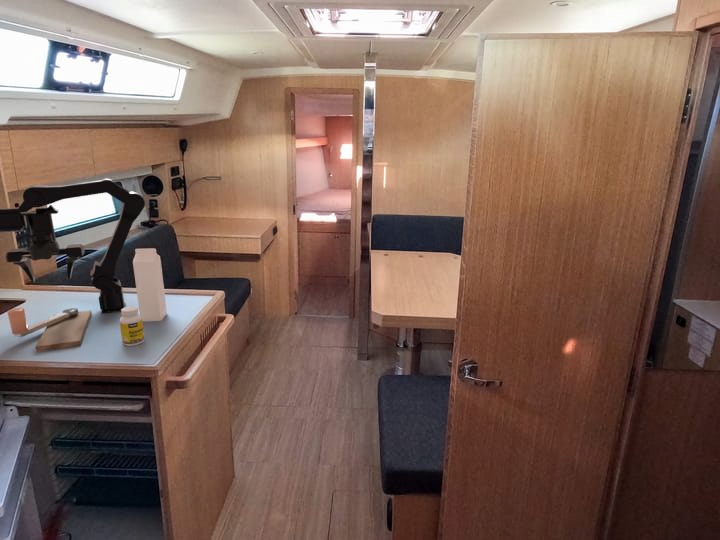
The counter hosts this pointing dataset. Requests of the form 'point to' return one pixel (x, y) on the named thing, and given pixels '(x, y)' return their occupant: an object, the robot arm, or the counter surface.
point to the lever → (22, 329)
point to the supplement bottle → (131, 326)
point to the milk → (149, 284)
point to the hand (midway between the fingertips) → (51, 280)
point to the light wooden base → (65, 332)
